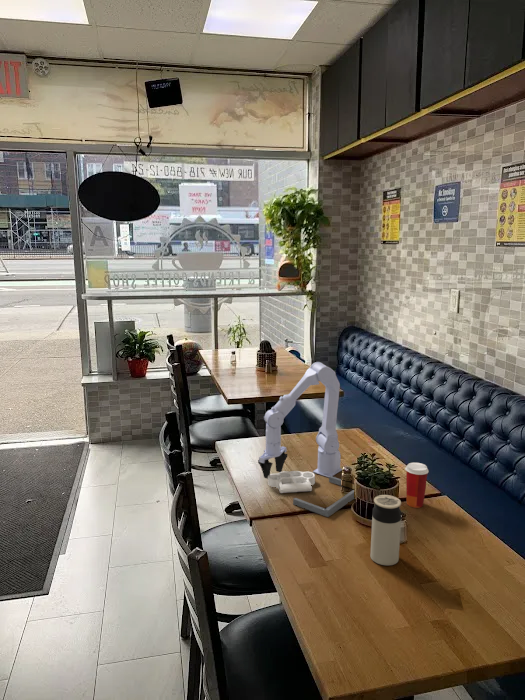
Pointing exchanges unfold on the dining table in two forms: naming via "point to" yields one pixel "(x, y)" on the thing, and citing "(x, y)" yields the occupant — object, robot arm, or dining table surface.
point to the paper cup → (416, 484)
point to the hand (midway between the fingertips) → (272, 474)
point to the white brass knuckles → (292, 481)
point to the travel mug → (386, 530)
